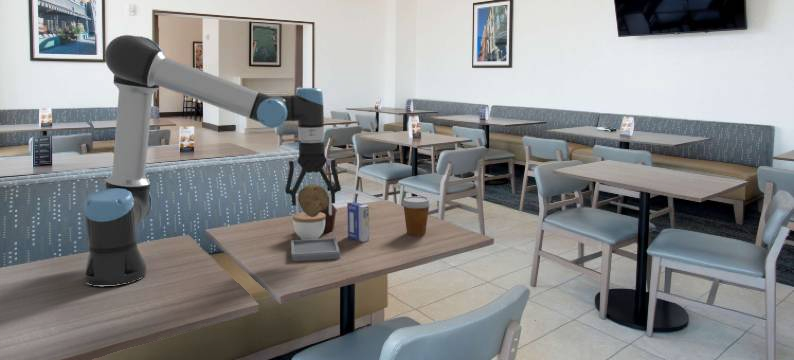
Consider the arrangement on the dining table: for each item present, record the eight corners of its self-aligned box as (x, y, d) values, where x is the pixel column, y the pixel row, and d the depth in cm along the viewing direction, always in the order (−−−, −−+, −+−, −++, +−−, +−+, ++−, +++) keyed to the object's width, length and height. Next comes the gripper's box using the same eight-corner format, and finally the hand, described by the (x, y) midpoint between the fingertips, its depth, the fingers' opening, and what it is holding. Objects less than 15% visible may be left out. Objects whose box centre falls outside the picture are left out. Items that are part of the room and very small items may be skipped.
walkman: (347, 237, 196) (347, 202, 194) (354, 235, 198) (353, 200, 196) (362, 242, 191) (362, 206, 188) (369, 240, 192) (369, 204, 190)
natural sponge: (318, 211, 184) (317, 180, 182) (335, 216, 177) (334, 184, 176) (293, 216, 178) (292, 184, 176) (309, 222, 172) (308, 188, 170)
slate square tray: (292, 261, 172) (291, 254, 172) (291, 247, 185) (291, 240, 185) (339, 258, 175) (339, 251, 174) (335, 244, 188) (335, 237, 188)
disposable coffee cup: (419, 239, 194) (419, 203, 191) (396, 234, 199) (396, 199, 197) (435, 232, 201) (436, 198, 199) (412, 228, 207) (413, 194, 204)
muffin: (297, 229, 204) (296, 202, 202) (321, 222, 213) (320, 195, 210) (320, 236, 197) (319, 207, 194) (344, 228, 205) (343, 201, 203)
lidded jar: (299, 244, 188) (298, 215, 186) (289, 236, 197) (288, 208, 195) (330, 239, 193) (330, 212, 191) (319, 232, 202) (318, 205, 200)
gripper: (273, 143, 168) (277, 220, 172) (349, 141, 172) (351, 216, 176) (273, 140, 175) (277, 213, 179) (347, 138, 179) (348, 210, 183)
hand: (314, 214), depth 178 cm, fingers closed on natural sponge, 9 cm apart
